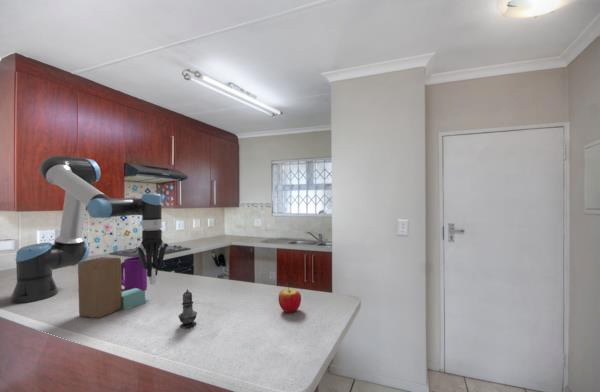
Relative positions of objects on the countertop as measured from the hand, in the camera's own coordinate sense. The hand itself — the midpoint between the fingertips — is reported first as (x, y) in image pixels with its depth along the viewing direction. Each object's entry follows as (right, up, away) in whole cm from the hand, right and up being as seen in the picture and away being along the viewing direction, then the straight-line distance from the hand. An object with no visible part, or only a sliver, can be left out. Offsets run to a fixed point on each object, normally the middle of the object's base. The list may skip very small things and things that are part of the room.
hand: (152, 283), depth 123 cm
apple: (+60, -4, -19) cm, 64 cm away
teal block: (-5, -6, -8) cm, 11 cm away
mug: (-16, -7, +11) cm, 20 cm away
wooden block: (-11, -6, -16) cm, 20 cm away
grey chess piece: (+27, -5, -29) cm, 40 cm away
